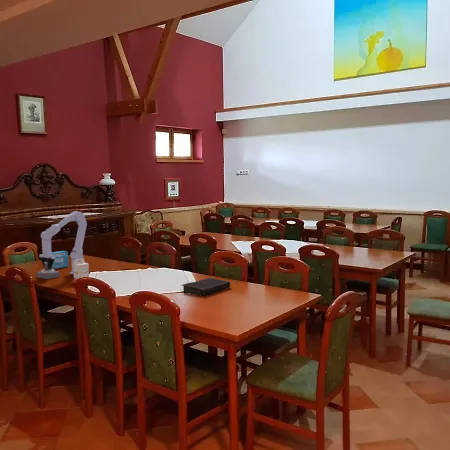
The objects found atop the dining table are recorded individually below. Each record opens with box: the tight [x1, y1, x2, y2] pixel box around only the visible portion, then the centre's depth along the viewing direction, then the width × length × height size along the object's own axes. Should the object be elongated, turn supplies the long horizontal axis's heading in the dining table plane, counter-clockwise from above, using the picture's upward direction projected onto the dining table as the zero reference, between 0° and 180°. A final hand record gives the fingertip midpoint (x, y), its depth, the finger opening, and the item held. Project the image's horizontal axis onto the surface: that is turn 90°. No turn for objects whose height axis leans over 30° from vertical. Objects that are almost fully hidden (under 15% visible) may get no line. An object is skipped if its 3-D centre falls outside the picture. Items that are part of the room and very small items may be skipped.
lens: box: [44, 261, 53, 271], centre depth 323 cm, size 5×5×7 cm
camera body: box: [36, 268, 60, 280], centre depth 324 cm, size 12×9×5 cm
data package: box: [51, 250, 69, 270], centre depth 358 cm, size 12×4×12 cm, turn 140°
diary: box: [180, 277, 231, 297], centre depth 281 cm, size 19×25×5 cm
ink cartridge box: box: [73, 257, 90, 283], centre depth 309 cm, size 9×5×15 cm, turn 141°
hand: (47, 268), depth 323 cm, fingers closed on lens, 4 cm apart
